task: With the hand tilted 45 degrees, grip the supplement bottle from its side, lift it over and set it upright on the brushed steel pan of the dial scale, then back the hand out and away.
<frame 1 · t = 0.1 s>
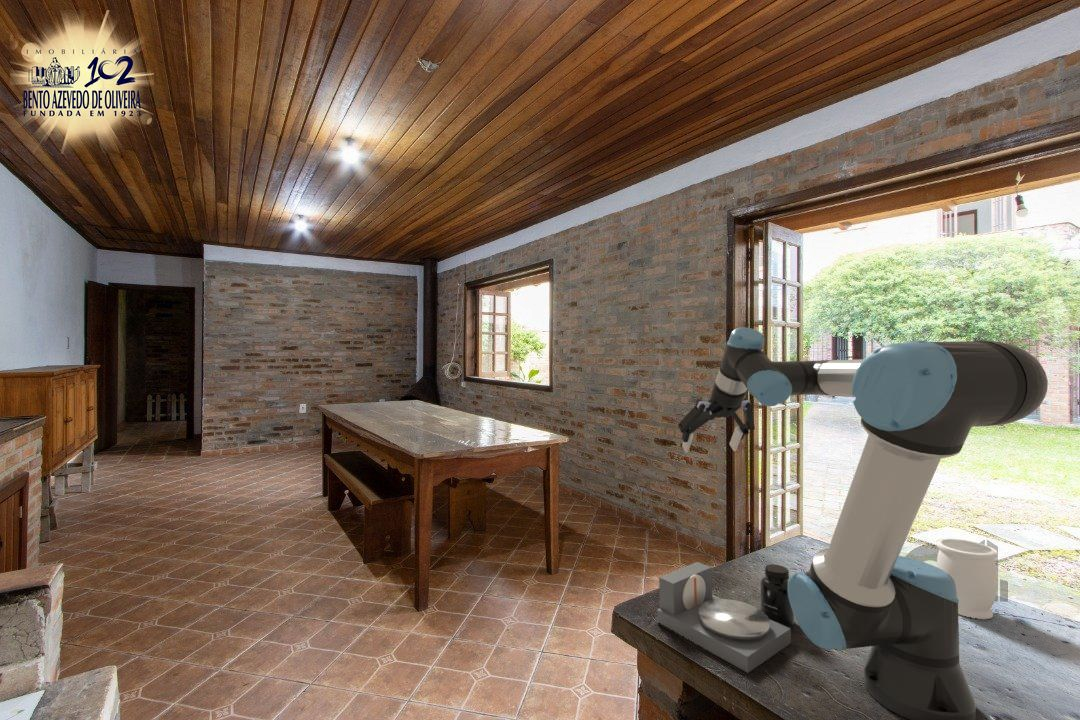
hand: (708, 448, 128), 36 cm above the countertop, tool tilted 35°, fingers open, 13 cm apart
jar: (968, 611, 109), on the countertop
scale pan: (733, 618, 100), point 4 cm above the countertop, slide at 0.7 cm
scale: (721, 632, 102), on the countertop
supplement bottle: (777, 622, 106), on the countertop
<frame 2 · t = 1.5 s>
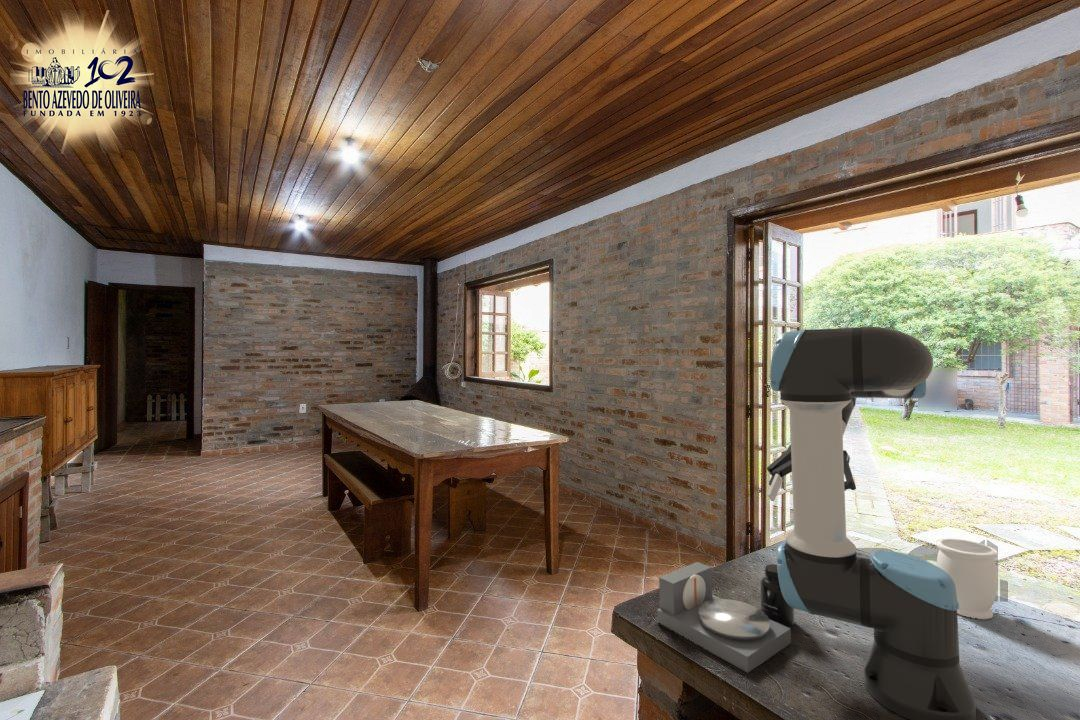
hand: (797, 504, 113), 24 cm above the countertop, tool tilted 45°, fingers open, 13 cm apart
nothing on the countertop moved.
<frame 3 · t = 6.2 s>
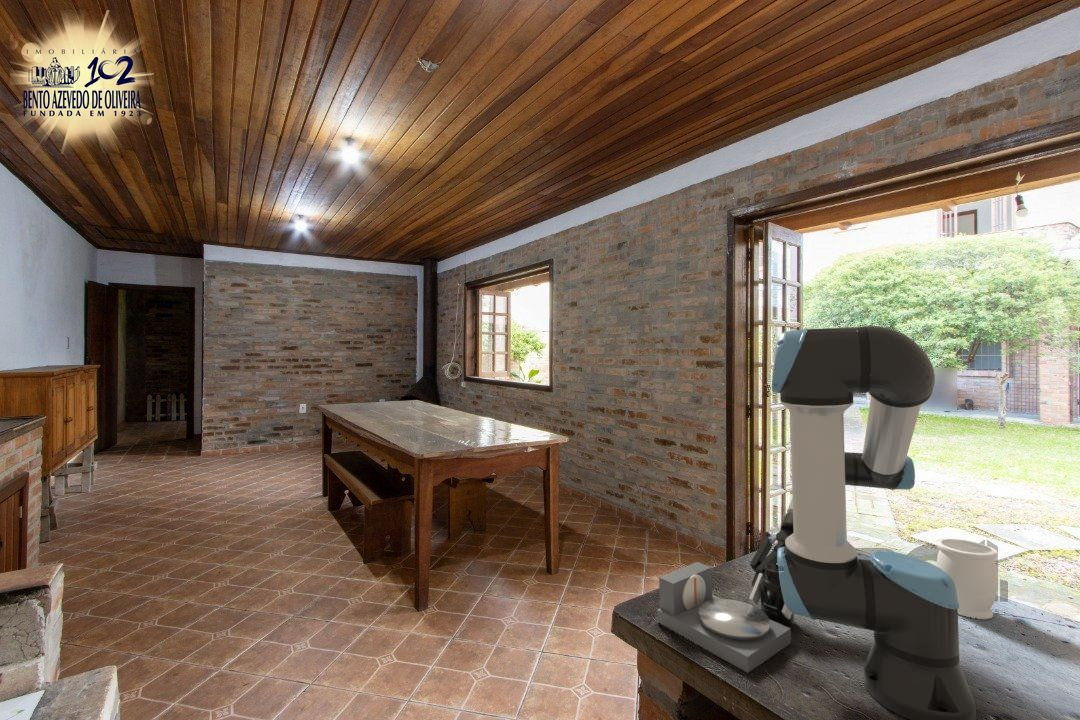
hand: (768, 608, 104), 4 cm above the countertop, tool tilted 45°, fingers closed on supplement bottle, 7 cm apart
supplement bottle: (777, 622, 106), on the countertop, touching gripper
everything else where it was.
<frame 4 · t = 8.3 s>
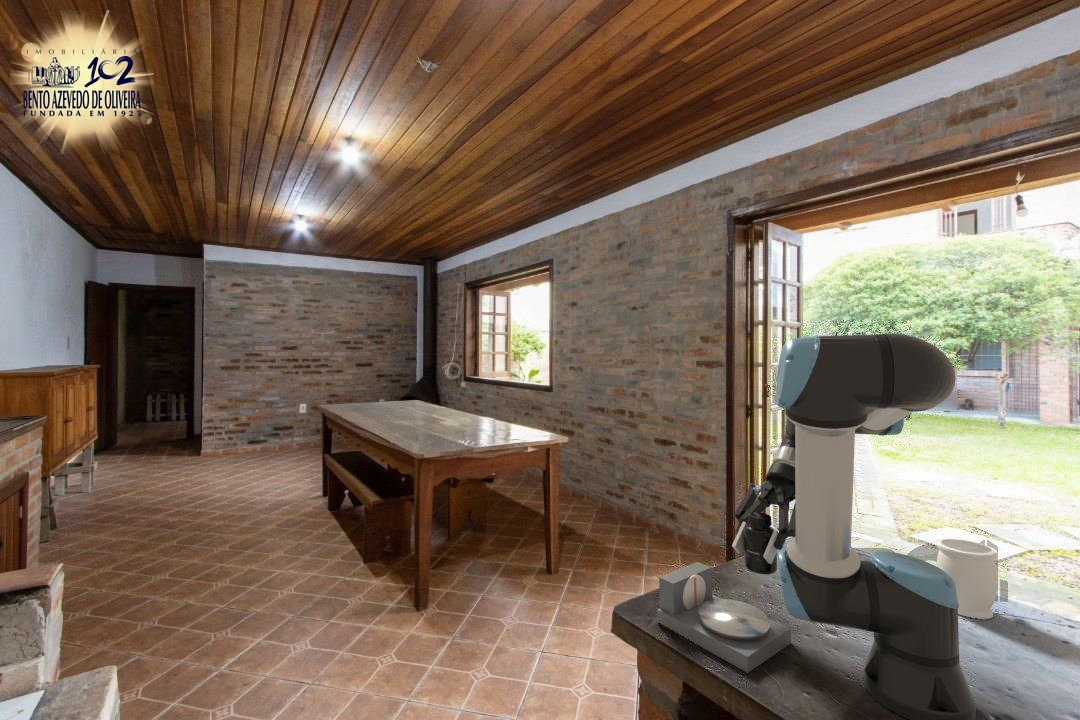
hand: (751, 554, 104), 16 cm above the countertop, tool tilted 45°, fingers closed on supplement bottle, 7 cm apart
supplement bottle: (761, 569, 106), point 12 cm above the countertop, touching gripper
everything else where it was.
when the fingers open (11 cm above the countertop, at t = 10.7 s): supplement bottle drops 2 cm, resting on scale pan.
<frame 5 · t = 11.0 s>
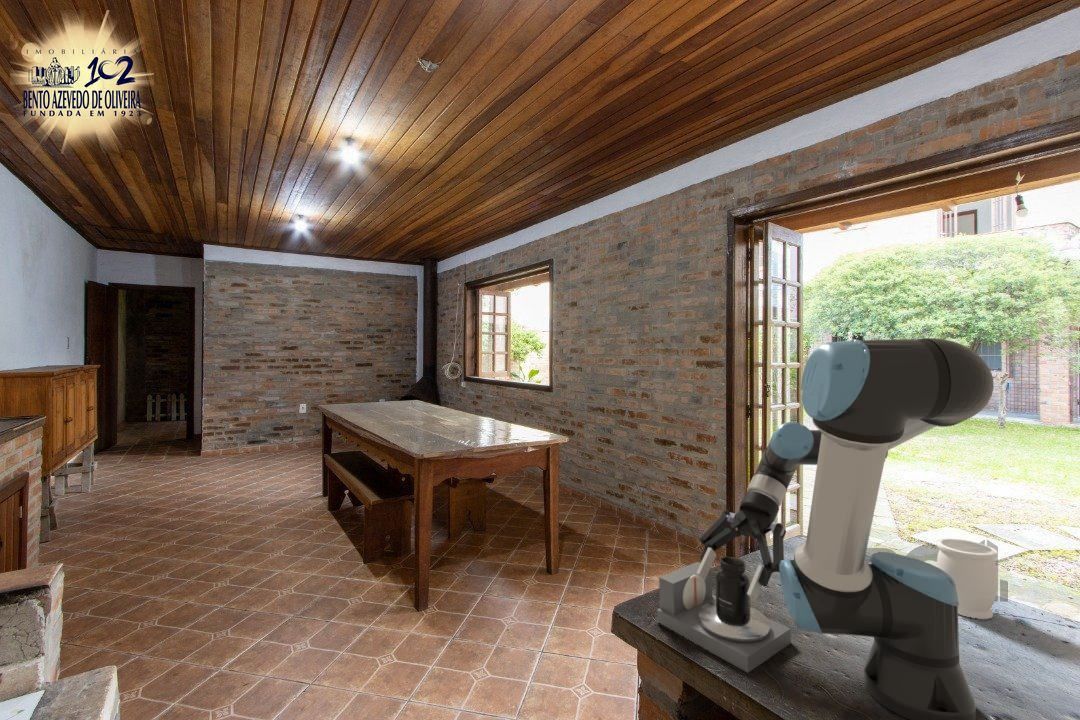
hand: (724, 586, 99), 12 cm above the countertop, tool tilted 45°, fingers open, 11 cm apart
scale pan: (733, 620, 100), point 4 cm above the countertop, slide at 1.2 cm, touching supplement bottle
supplement bottle: (733, 618, 100), point 4 cm above the countertop, touching scale pan
everything else where it was.
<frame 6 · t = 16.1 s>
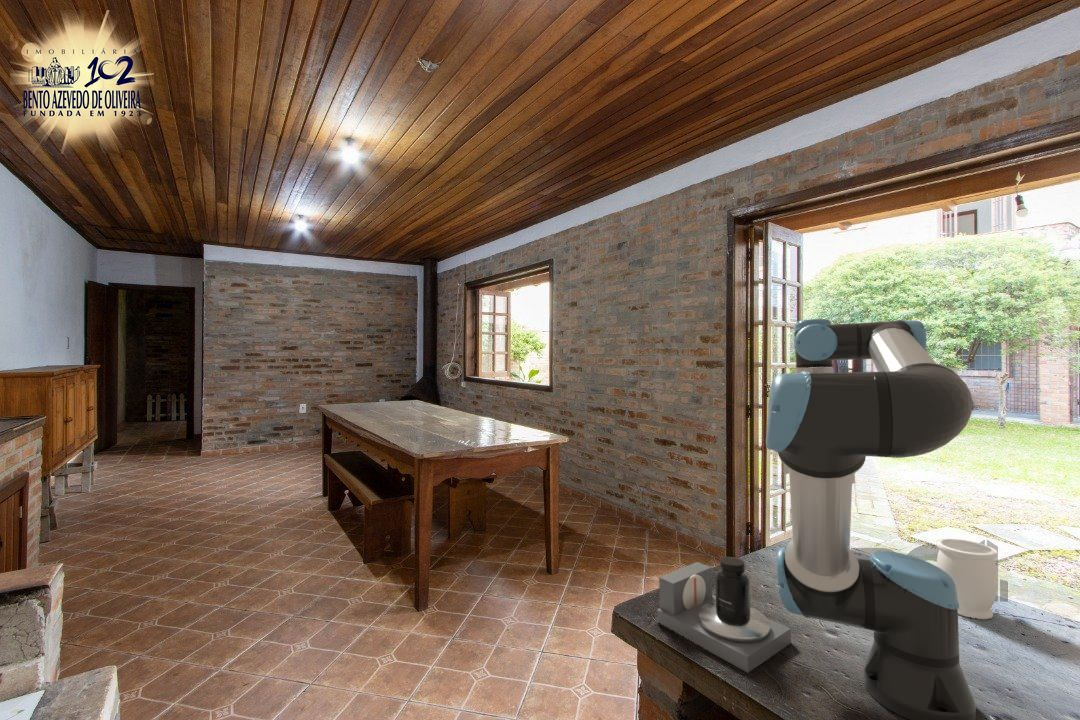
hand: (817, 478, 109), 32 cm above the countertop, tool pointing down, fingers open, 13 cm apart
nothing on the countertop moved.
at the end: supplement bottle inside the target area on the scale (0.1 cm from its centre), point 4.3 cm above the scale's base; supplement bottle tilted 0°; the gripper is holding nothing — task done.
